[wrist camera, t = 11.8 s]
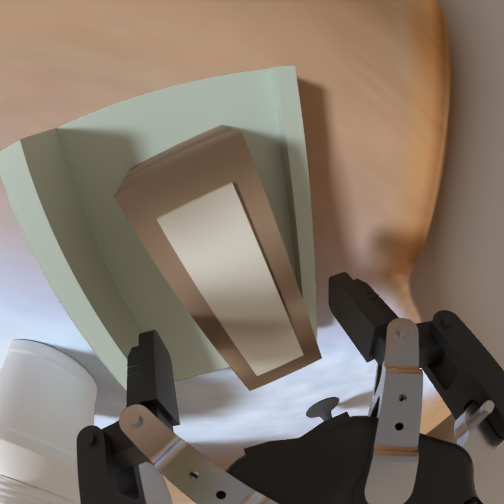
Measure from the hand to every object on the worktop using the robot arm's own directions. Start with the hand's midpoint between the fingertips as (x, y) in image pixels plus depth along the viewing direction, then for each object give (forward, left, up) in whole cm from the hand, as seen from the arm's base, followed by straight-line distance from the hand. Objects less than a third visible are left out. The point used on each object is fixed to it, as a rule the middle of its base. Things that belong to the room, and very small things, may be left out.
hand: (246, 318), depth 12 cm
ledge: (-2, 0, -7) cm, 7 cm away
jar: (-21, -9, -8) cm, 24 cm away
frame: (0, 0, -5) cm, 5 cm away
